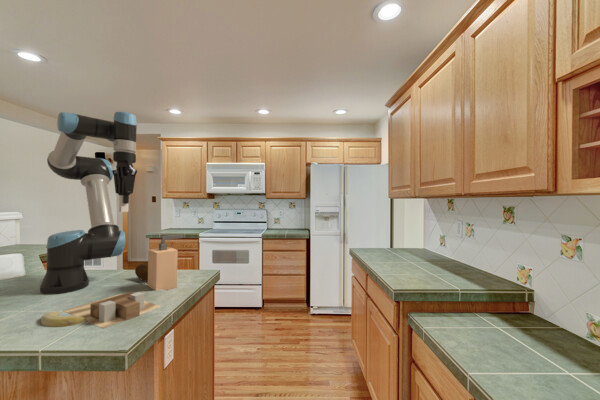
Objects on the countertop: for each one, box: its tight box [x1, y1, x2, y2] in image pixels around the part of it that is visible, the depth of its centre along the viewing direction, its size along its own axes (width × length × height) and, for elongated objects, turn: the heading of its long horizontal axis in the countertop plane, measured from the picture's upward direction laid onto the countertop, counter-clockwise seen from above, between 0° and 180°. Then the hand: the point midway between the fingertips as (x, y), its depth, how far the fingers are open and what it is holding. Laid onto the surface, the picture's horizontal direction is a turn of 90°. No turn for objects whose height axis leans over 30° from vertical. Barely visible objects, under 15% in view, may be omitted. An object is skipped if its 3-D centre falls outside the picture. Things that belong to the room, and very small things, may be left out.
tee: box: [90, 291, 141, 321], centre depth 85 cm, size 12×12×4 cm
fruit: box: [40, 311, 87, 328], centre depth 79 cm, size 7×15×3 cm, turn 63°
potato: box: [134, 260, 148, 282], centre depth 123 cm, size 8×12×9 cm
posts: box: [99, 291, 145, 323], centre depth 84 cm, size 3×12×5 cm, turn 153°
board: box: [62, 293, 162, 329], centre depth 89 cm, size 24×18×1 cm
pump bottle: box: [147, 233, 184, 291], centre depth 114 cm, size 13×9×22 cm
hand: (123, 211), depth 105 cm, fingers closed
